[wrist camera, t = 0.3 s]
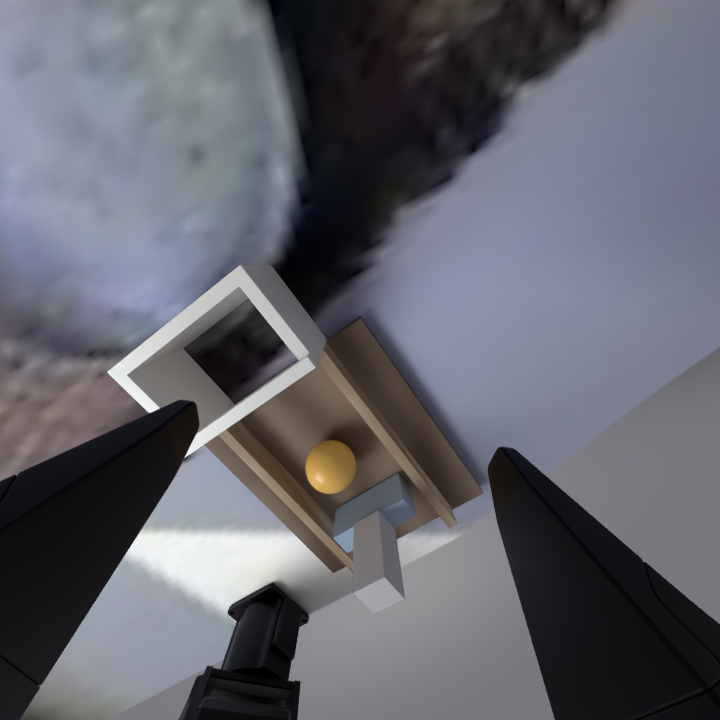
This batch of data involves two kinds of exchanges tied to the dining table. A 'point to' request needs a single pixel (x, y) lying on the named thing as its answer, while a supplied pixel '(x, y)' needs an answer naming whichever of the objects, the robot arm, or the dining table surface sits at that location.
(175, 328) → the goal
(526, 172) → the dining table surface
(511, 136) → the dining table surface
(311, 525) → the board
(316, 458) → the ball
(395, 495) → the striker
